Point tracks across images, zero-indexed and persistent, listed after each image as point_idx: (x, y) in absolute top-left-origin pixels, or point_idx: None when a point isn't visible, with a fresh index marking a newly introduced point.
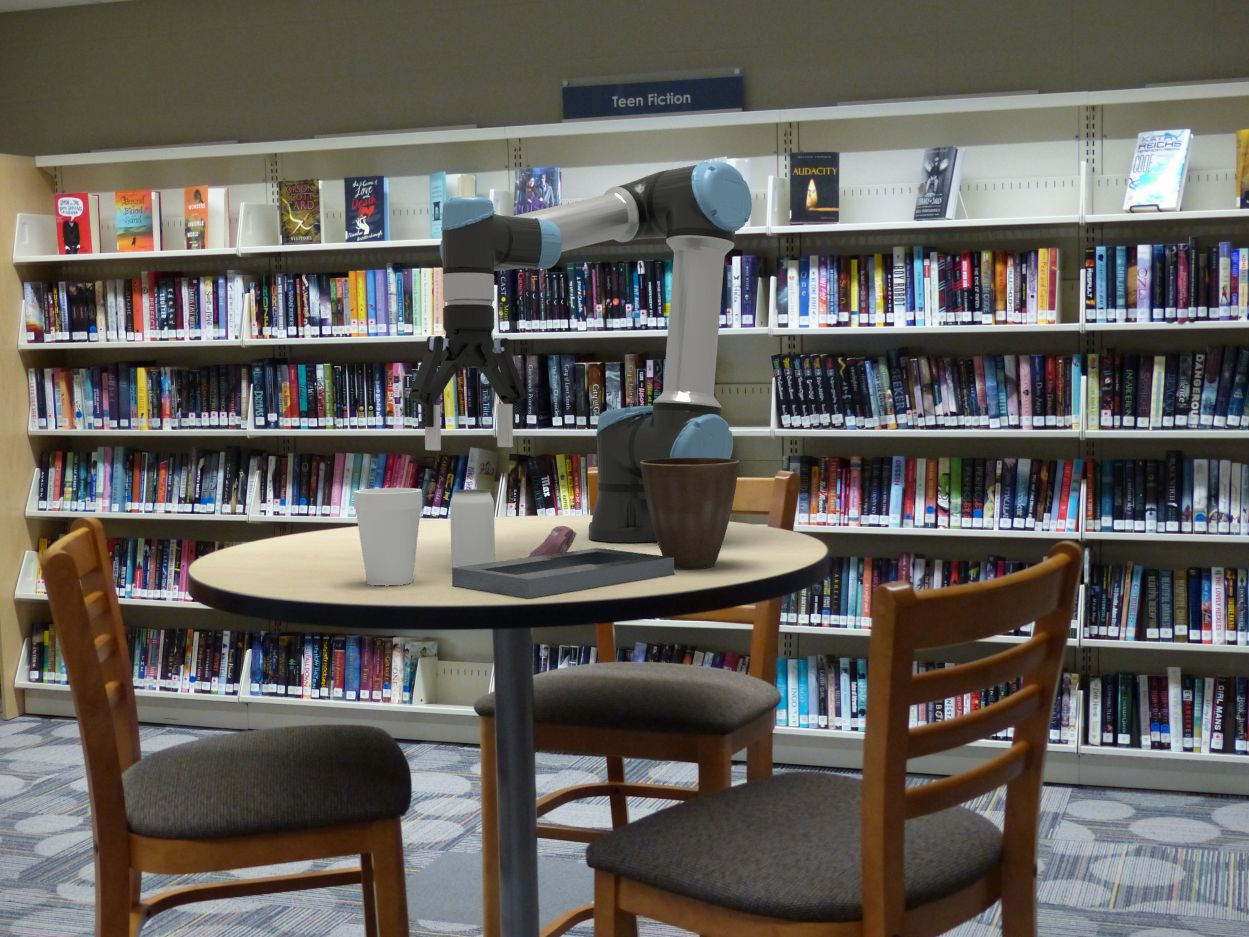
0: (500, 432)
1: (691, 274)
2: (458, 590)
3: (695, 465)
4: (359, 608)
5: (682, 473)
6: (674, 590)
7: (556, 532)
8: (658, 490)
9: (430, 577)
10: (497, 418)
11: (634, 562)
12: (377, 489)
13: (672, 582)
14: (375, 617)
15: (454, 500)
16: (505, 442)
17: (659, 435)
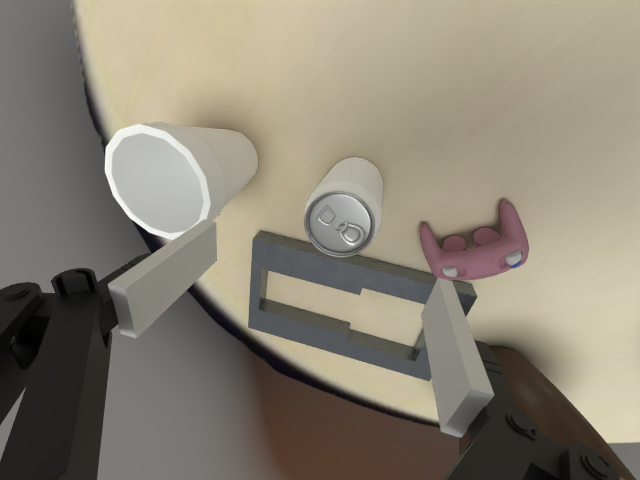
0: (439, 316)
1: None
2: (247, 249)
3: None
4: (142, 232)
5: None
6: (346, 384)
7: (460, 267)
8: (464, 438)
9: (287, 172)
10: (455, 339)
11: (377, 363)
12: (163, 138)
13: (382, 375)
14: None
15: (305, 208)
16: (426, 312)
17: None
